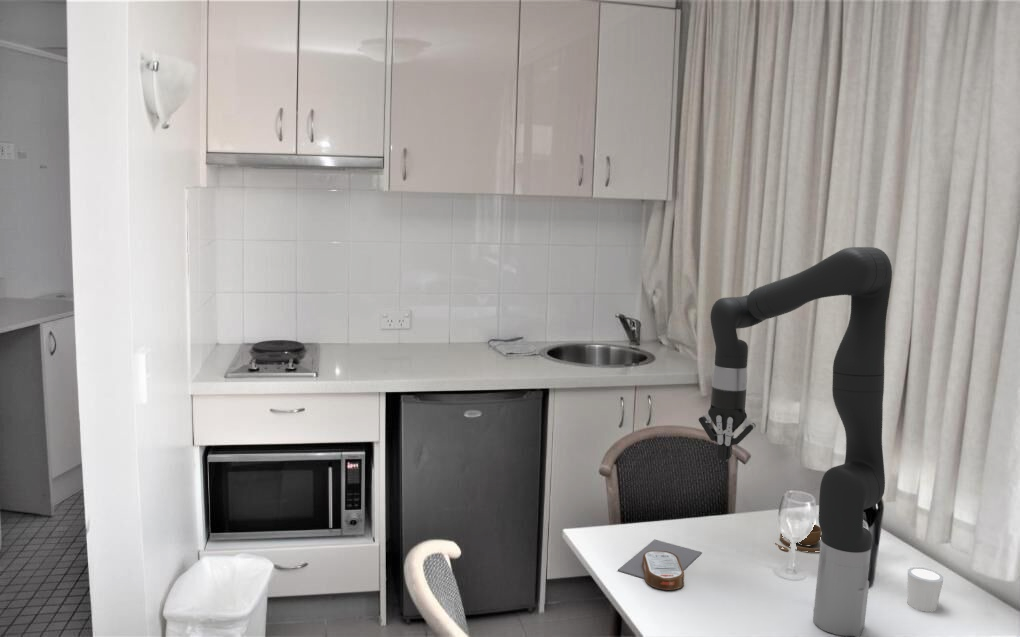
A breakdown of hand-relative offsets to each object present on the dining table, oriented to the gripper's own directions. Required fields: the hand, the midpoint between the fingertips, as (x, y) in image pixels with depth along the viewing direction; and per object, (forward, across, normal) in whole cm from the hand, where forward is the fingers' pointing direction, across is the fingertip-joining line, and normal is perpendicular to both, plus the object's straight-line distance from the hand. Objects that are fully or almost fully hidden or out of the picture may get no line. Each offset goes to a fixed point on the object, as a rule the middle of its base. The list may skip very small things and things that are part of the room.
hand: (724, 460), depth 189 cm
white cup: (+26, -42, -6) cm, 50 cm away
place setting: (+26, -18, -22) cm, 38 cm away
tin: (+23, +4, +11) cm, 26 cm away
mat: (+25, +11, +7) cm, 28 cm away
